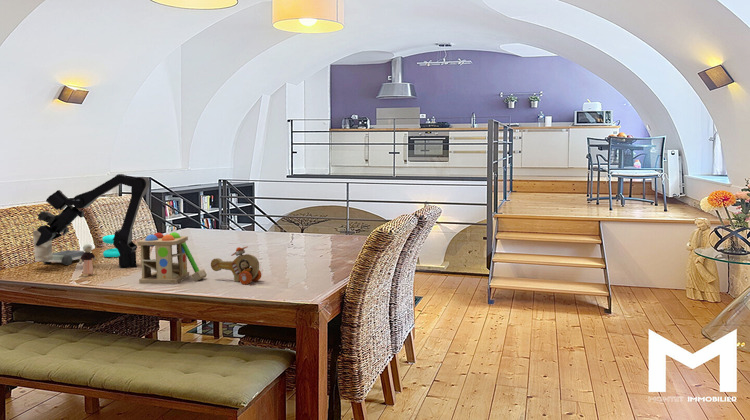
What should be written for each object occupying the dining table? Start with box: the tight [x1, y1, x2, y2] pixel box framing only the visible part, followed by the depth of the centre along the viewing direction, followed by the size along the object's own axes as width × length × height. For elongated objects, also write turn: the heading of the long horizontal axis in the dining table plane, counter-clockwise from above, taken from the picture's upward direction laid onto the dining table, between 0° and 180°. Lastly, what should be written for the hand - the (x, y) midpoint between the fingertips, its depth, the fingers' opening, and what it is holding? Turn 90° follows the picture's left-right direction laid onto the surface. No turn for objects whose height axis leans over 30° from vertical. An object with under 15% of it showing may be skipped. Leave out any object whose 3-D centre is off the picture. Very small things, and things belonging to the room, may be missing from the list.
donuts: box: [102, 234, 120, 258], centre depth 281 cm, size 10×10×10 cm
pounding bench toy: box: [137, 231, 207, 284], centre depth 225 cm, size 23×14×18 cm, turn 88°
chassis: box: [41, 249, 85, 266], centre depth 265 cm, size 16×13×4 cm
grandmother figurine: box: [78, 243, 97, 277], centre depth 235 cm, size 8×4×13 cm, turn 168°
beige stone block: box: [32, 229, 54, 262], centre depth 249 cm, size 5×5×13 cm
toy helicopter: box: [210, 246, 262, 286], centre depth 222 cm, size 8×21×14 cm, turn 68°
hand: (39, 244), depth 249 cm, fingers closed on beige stone block, 5 cm apart
